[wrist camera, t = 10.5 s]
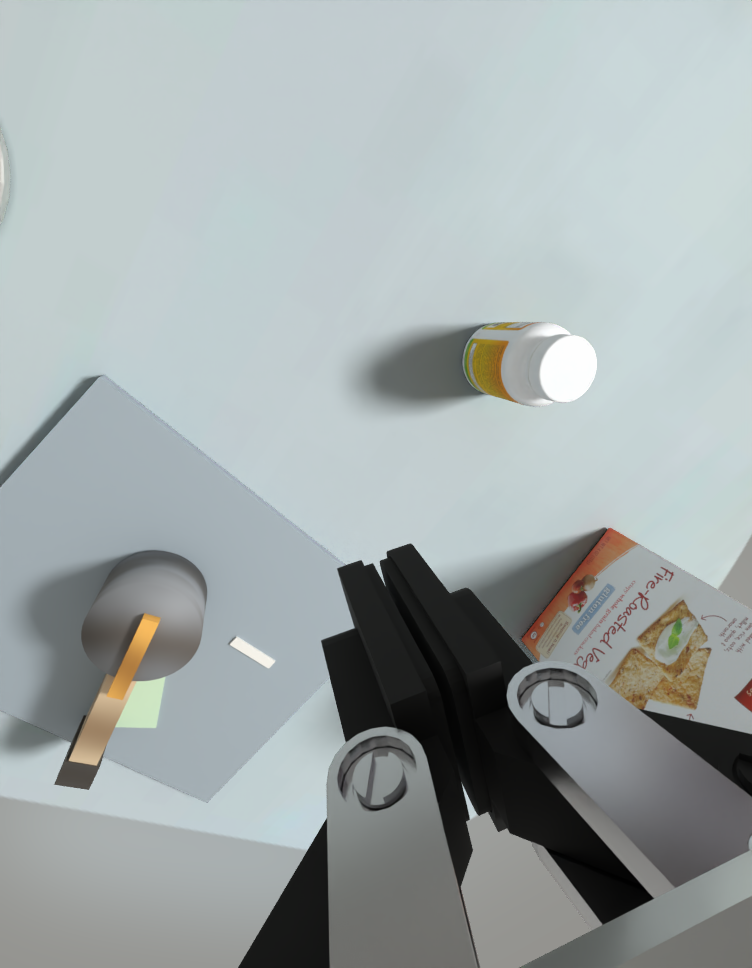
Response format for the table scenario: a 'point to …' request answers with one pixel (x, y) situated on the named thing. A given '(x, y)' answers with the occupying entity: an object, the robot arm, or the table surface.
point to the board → (172, 528)
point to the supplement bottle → (529, 363)
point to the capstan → (134, 644)
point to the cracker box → (652, 635)
